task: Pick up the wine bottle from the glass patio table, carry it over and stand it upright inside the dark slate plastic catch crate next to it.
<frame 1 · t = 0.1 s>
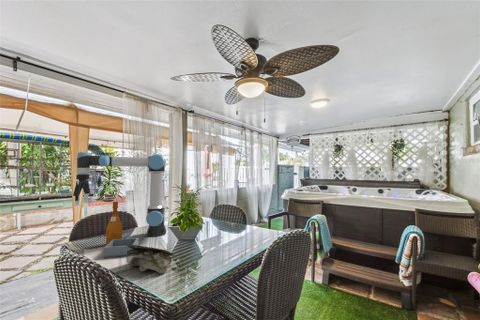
hand: (81, 204, 151), 28 cm above the table, fingers open, 13 cm apart
wine bottle: (113, 245, 149), on the table
catch crate: (122, 252, 136), on the table
hollow geode rock: (148, 267, 115), on the table
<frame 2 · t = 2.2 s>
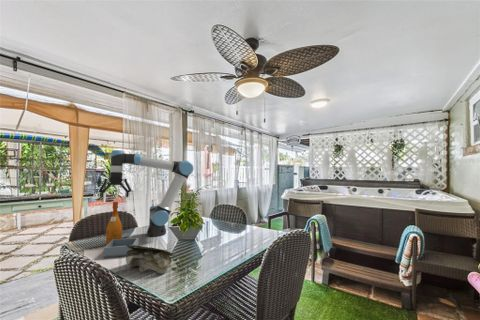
hand: (115, 202, 151), 30 cm above the table, fingers open, 13 cm apart
nothing on the table moved.
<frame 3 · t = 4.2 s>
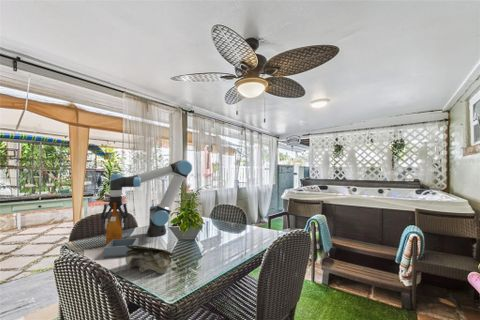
hand: (114, 227, 150), 12 cm above the table, fingers closed on wine bottle, 9 cm apart
wine bottle: (113, 245, 149), on the table, touching gripper
everything else where it was.
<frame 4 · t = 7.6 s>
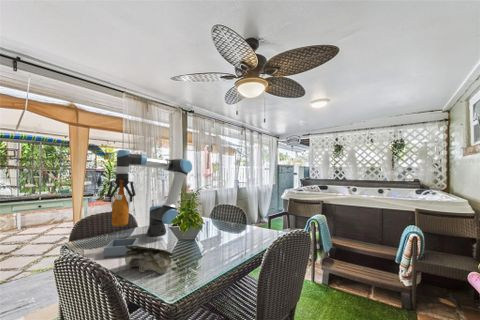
hand: (120, 207, 141), 28 cm above the table, fingers closed on wine bottle, 9 cm apart
wine bottle: (119, 225, 140), point 16 cm above the table, touching gripper
everything else where it was.
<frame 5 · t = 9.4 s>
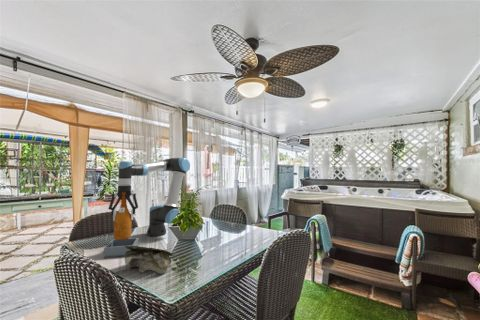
hand: (123, 220, 137), 20 cm above the table, fingers closed on wine bottle, 9 cm apart
wine bottle: (122, 238, 137), point 8 cm above the table, touching gripper
everything else where it was.
when the fingers open (14 cm above the table, at t = 11.1 s): wine bottle drops 1 cm, resting on catch crate.
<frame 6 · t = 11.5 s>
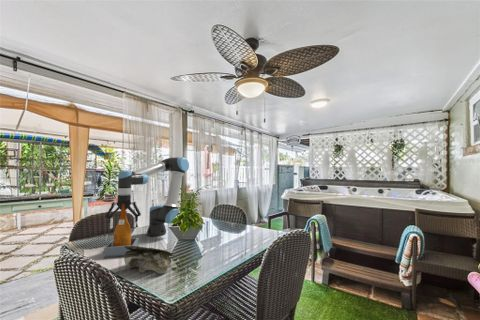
hand: (123, 227, 137), 15 cm above the table, fingers open, 13 cm apart
wine bottle: (122, 250, 136), point 1 cm above the table, touching catch crate
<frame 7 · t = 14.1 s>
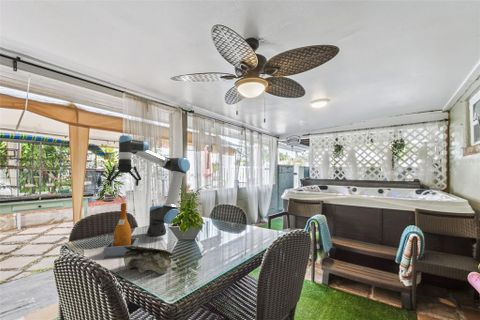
hand: (124, 191, 140), 38 cm above the table, fingers open, 13 cm apart
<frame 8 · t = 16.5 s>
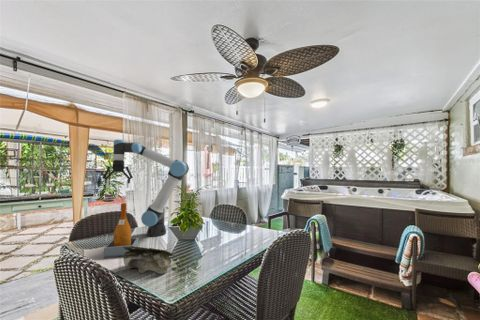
hand: (117, 187, 162), 39 cm above the table, fingers open, 13 cm apart
at the end: wine bottle inside the target area on the catch crate (0.1 cm from its centre), point 0.8 cm above the catch crate's base; wine bottle tilted 0°; the gripper is holding nothing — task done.
